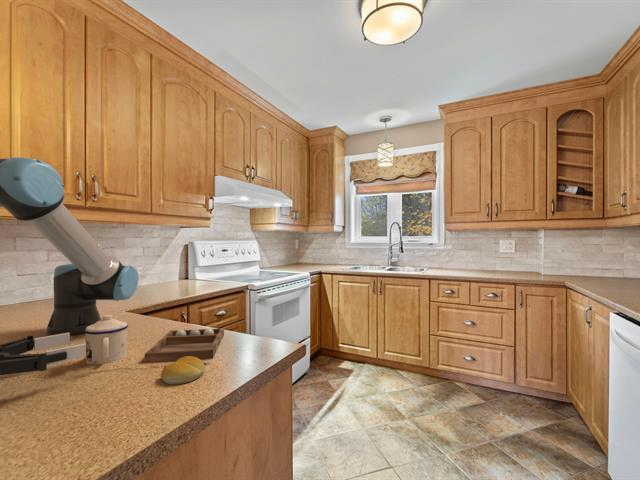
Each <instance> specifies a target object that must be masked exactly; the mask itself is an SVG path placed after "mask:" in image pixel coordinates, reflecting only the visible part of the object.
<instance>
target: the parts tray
mask: <svg viewBox="0 0 640 480" xmlns="http://www.w3.org/2000/svg"><path fill="white" fill-rule="evenodd" d="M196 329H197V328H196ZM206 329H207V328H199V329H197V330H199V331H200V335H190V332H191V331H192V330H193V329H183V330H184V331H185V332H186V336H175V334H176V332H177V331H179V330H180V329H178V330H169V331H168V332H167V333H166V334H165V335H164V336H163V337H162V338H160V339H159V340H158V341H157V342H156V343H155V344H154V345H153V346H151V347H150V349H148V350H147V351H146V352H145V353H144V363H155V362H156V363H157V362H172V361H174V362H175V361H177V360H178V359H179V358H182V357H185V356H192V357H197V358H198V359H200V360H205V359H214V358H215V356H216V354H217V352H218V349H219V347H220V345H221V343H222V340H223V338H224V336H225V328H224V327H221V328H211V329H212V330H213V331H214V334H210V335H204V331H205V330H206Z"/></svg>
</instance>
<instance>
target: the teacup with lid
mask: <svg viewBox="0 0 640 480" xmlns="http://www.w3.org/2000/svg"><path fill="white" fill-rule="evenodd" d="M128 327H129V324H128V323H127V321H121V320H118V319H116V318H113V316H112V315H111V314H106V315H103V316H101V320H100V321H98V322H96V323H95V324H93V325H90V326H88V327H87V328H86V329H85V333H84V334H85V363H86V364H87V365H104V364H110V363H114V362H117V361H120V360H123V359H125V358H126V357H127V356H128Z"/></svg>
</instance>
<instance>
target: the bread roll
mask: <svg viewBox="0 0 640 480" xmlns="http://www.w3.org/2000/svg"><path fill="white" fill-rule="evenodd" d="M205 371H206V366H205V364H204V362H203V361H202V359H198V358H197V357H192V356H185V357H182V358H179V359H178V360H175V361H174V362H172V363H169V364H167V365H166V366H165V367H164V368H163V369H162V371H161V373H160V378H161V379H162V381H163V382H165V384H169V385H180V384H187V383H190V382H193V381H196V380H197V379H199V378H200V376H202V375H203V374H204V373H205Z"/></svg>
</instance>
